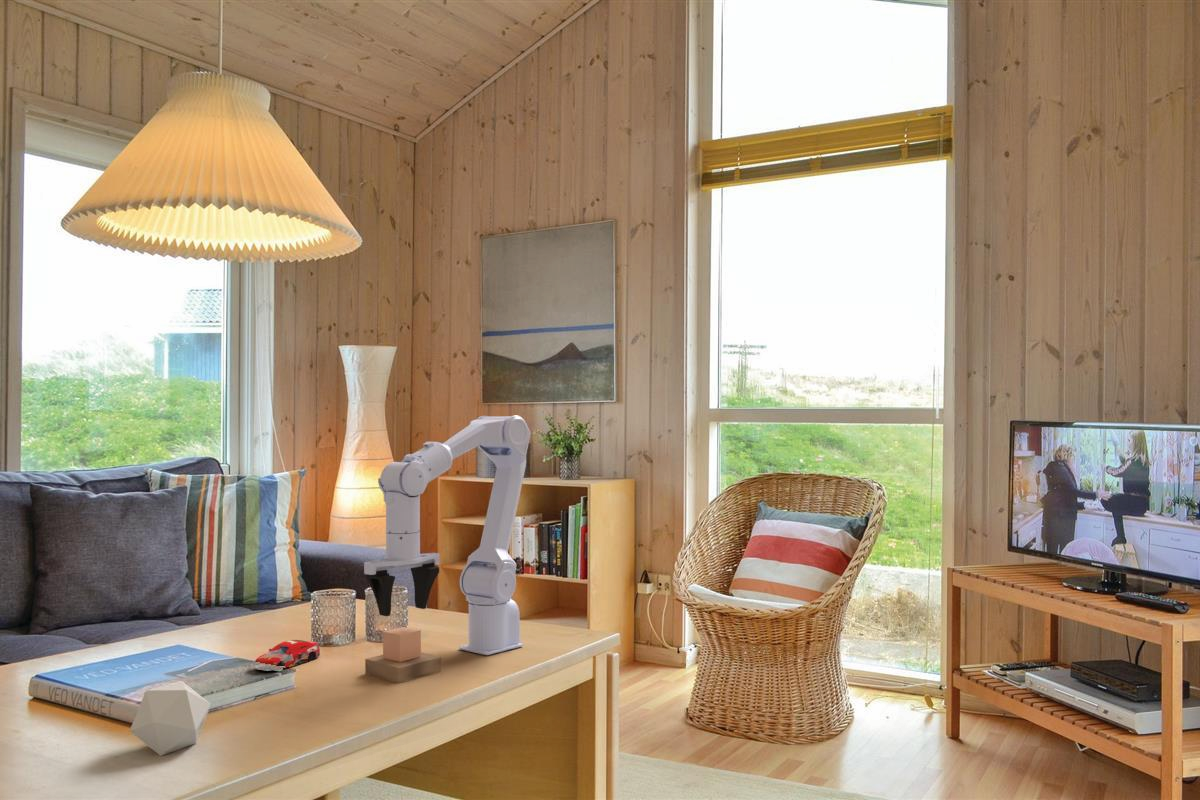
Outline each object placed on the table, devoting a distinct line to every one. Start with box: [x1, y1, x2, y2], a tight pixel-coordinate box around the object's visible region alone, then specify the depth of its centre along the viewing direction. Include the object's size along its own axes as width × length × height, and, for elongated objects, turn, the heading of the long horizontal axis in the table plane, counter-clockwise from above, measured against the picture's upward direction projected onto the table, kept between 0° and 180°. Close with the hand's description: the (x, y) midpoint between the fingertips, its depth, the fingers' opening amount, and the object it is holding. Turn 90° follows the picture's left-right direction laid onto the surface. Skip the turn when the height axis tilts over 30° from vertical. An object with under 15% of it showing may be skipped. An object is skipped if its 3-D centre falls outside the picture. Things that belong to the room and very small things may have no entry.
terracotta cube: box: [382, 626, 422, 662], centre depth 160 cm, size 4×4×4 cm
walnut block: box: [364, 651, 442, 684], centre depth 160 cm, size 9×9×3 cm
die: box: [129, 680, 212, 756], centre depth 124 cm, size 8×9×10 cm
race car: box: [254, 639, 321, 668], centre depth 166 cm, size 13×5×4 cm, turn 154°
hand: (403, 611), depth 160 cm, fingers open, 7 cm apart
